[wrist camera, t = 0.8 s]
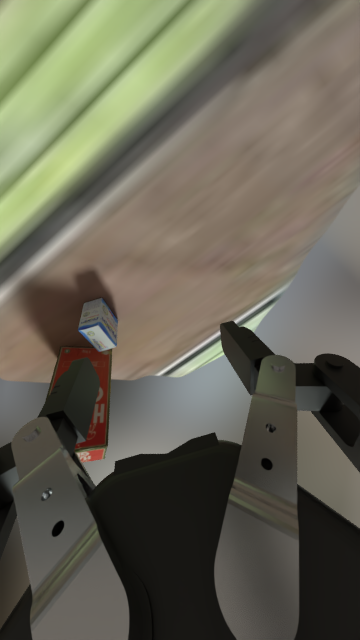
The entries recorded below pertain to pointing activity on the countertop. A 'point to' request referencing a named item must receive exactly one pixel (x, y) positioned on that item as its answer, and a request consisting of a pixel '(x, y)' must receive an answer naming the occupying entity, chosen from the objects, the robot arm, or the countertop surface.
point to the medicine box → (98, 325)
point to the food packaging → (100, 419)
